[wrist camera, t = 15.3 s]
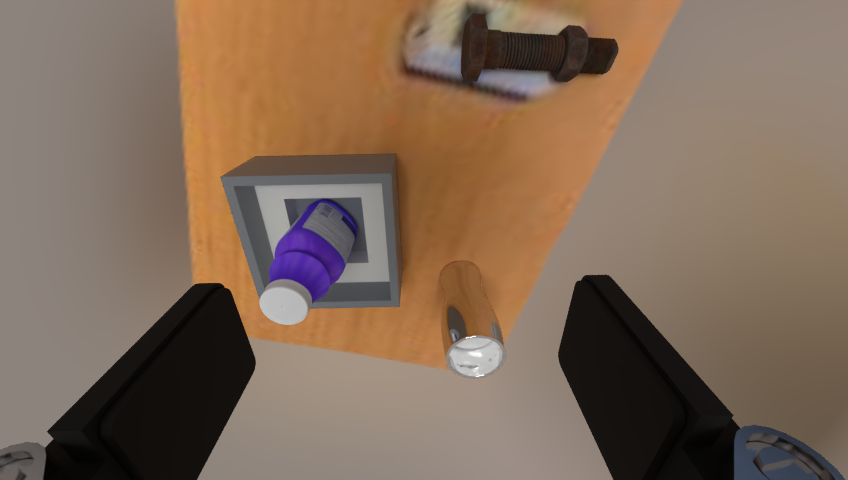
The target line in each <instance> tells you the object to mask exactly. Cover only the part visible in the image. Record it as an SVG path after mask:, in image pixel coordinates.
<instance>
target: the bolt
mask: <svg viewBox="0 0 848 480" xmlns="http://www.w3.org/2000/svg"><path fill="white" fill-rule="evenodd" d="M617 54H618V45H617V42H616V41H615V39H607V38H606V39H604V38H602V39H601V38H591V37H590V38H589V37H588V35H587V33H586V32H585V30H584V29H583V28H582V27H580V26H573V25H569V26H567V27H566V28H564V29H563V30H562V31H561V32H560V33H559V35H545V34H543V35H542V34H540V35H539V34H527V33H526V34H525V33H523V34H522V33H515V32H513V33H512V32H501V31H500V30H488V27H487V23H486V18H485V14H474V13H473V14H472V15H471V16H470V17H469V19H468V20H467V22H466V26H465V31H464V37H463V44H462V55H461V73H462V75H463V77H464V79H465V80H466V81H477V80H478V78H479V76H480V73H481V71H482V69H495V68H500V69H501V68H502V69H504V68H506V69H508V68H509V69H511V68H512V69H516V70H517V69H519V70H521V69H522V70H535V71H536V70H538V71H540V70H541V71H543V70H544V71H546V70H547V71H550V73H551V76H552V77H553V78H554V79H555V80H556V81H558V82H568V81H570V80H571V79H573V78H574V77H576V76H577V74H578V73H588V74H589V73H591V74H604V73H606V72H608V71H609V70H610V68H611V66H612V64H613V62H614V60H615V58H616V56H617Z"/></svg>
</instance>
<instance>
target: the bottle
mask: <svg viewBox="0 0 848 480" xmlns="http://www.w3.org/2000/svg"><path fill="white" fill-rule="evenodd" d="M356 237H357V227H356V224H355V222H354V220H353V219H352V218H351V216H350V215H349V214H348V213H347V212H346V211H345V210H344V209H343V208H342V207H340V206H339V205H338V204H336V203H334V202H332V201H330V200H327V199H323V200H318V201H315V202H314V203H312V204H310V205H309V206H308V207H307V208H306V209H305V210H304V212H303V213H302V214H301V215H300V216H299V217H298V218H297V220H296V221H295V222H294V223H293V224H292V226H291V227H290V228H289V230H288V231H287V232H286V233H285V234H284V236H283V237H282V238H281V239H280V240H279V242H278V244H277V246H276V249H275V256H274V260H273V262H272V264H271V266H270V270H269V277H270V282H269V284H268V285H267V286H266V288H265V290H264V292H263V294H262V295H261V297H260V302H259V303H260V308H261V310H262V312H263V313H264V314H265V315H266V316H267V317H268V318H269V319H270V320H272V321H274V322H276V323H279V324H283V325H293V324H296V323H299V322H301V321H302V320H303V319H304V318H305V317H306V316H307V314H308V312H309V310H310V308H311V306H312V304H313V303H314V301H316V300H318V299H320V298H322V297H323V296H324V295H325V294H326V293H327V291H328V289H329V287H330V286H331V285H333V284H334V283H335V282H336V281H337V280H339V278H340V276H341V275H342V273H343V271H344V269H345V266H346V263H347V261H348V258H349V256H350V253H351V250H352V248H353V245H354V242H355V240H356Z"/></svg>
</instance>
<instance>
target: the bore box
mask: <svg viewBox="0 0 848 480" xmlns="http://www.w3.org/2000/svg"><path fill="white" fill-rule="evenodd" d="M221 180H222V183H223V187H224V190H225V193H226V196H227V199H228V202H229V205H230V209H231V212H232V215H233V218H234V221H235V224H236V227H237V231H238V234H239V237H240V240H241V243H242V246H243V249H244V253H245V256H246V259H247V262H248V265H249V268H250V271H251V275H252V278H253V281H254V284H255V287H256V290H257V293H258V296H259V300H260V297H261V295H262V294H263V292H264V290H265V288H266V286H267V285H268V284H269V282H270V277H269V270H270V266H271V264H272V262H273V260H274V256H275V249H276V246H277V244H278V242H279V240H280V239H281V238H282V237H283V236H284V234H285V233H286V232H287V231H288V230H289V228H290V227H291V226H292V224H293V223H294V222H295V221H296V220H297V218H298V217H299V216H300V215H301V214H302V213H303V212H304V210H305V209H306V208H307V207H308V206H309V205H310V204H312V203H314V202H315V201H318V200H323V199H327V200H330V201H332V202H334V203H336V204H338V205H339V206H340V207H342V208H343V209H344V210H345V211H346V212H347V213H348V214H349V215H350V216H351V218H352V219H353V220H354V222H355V224H356V227H357V237H356V240H355V242H354V245H353V248H352V250H351V253H350V256H349V258H348V261H347V263H346V266H345V269H344V271H343V273H342V275H341V276H340V278H339V280H337V281H336V282H335V283H334V284H333V285H331V286H330V287H329V289H328V291H327V293H326V294H325V295H324V296H323V297H322V298H320V299H318V300H316V301H314V303H313V304H312V306H311V308H310V309H316V308H361V307H400V296H401V283H402V254H401V237H400V219H399V201H398V184H397V166H396V154H353V155H303V156H255V157H253V158H252V159H250V160H248V161H247V162H245V163H243V164H241V165H240V166H238V167H236V168H235V169H233V170H231V171H230V172H228V173H226V174H224V175H223V176H221Z"/></svg>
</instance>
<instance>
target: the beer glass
mask: <svg viewBox="0 0 848 480" xmlns="http://www.w3.org/2000/svg"><path fill="white" fill-rule="evenodd" d="M440 284H441V287H442V289H443V291H444V304H443V310H442V318H441V333H442V341H443V347H444V352H445V356H446V363H447V366H448V367H449V369H450V370H451V371H452V372H454V373H455V374H457V375H459V376H462V377H466V378H481V377H485V376H488V375H490V374H493V373H494V372H496V371H497V370H499V369H500V368H501V366H502V365H503V364H504V362H505V359H506V350H505V347H504V342H503V337H502V332H501V328H500V324H499V321H498V318H497V316H496V313H495V311H494V309H493V307H492V305H491V304H490V302H489V300H488V299H487V297H486V295H485V294H484V292H483V290H482V287H481V273H480V271H479V269H478V268H477V267H476V266H475V265H474V264H472V263H470V262H467V261H457V262H453V263H451V264H449V265H448V266H446V267H445V268H444V269H443V271H442V273H441V275H440Z"/></svg>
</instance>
